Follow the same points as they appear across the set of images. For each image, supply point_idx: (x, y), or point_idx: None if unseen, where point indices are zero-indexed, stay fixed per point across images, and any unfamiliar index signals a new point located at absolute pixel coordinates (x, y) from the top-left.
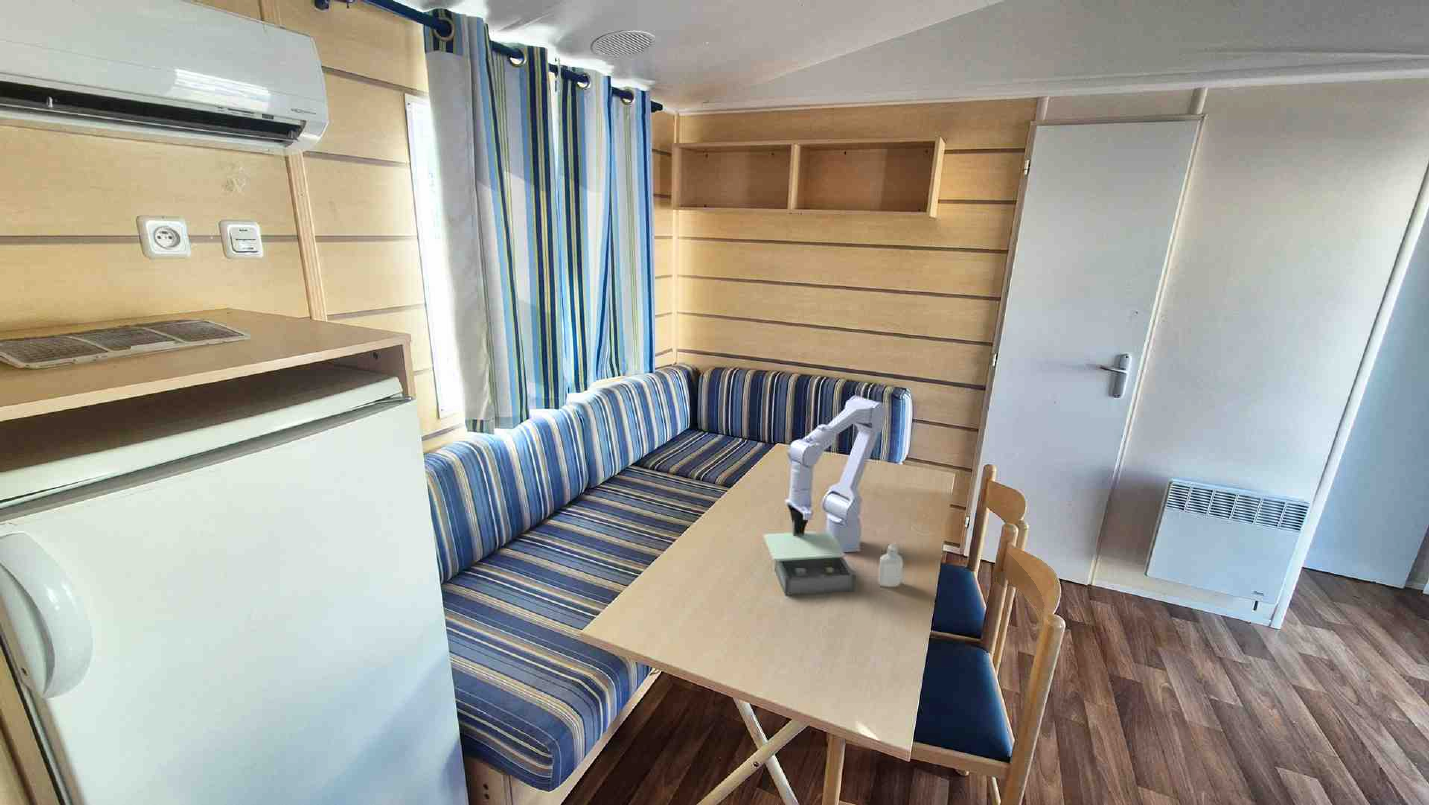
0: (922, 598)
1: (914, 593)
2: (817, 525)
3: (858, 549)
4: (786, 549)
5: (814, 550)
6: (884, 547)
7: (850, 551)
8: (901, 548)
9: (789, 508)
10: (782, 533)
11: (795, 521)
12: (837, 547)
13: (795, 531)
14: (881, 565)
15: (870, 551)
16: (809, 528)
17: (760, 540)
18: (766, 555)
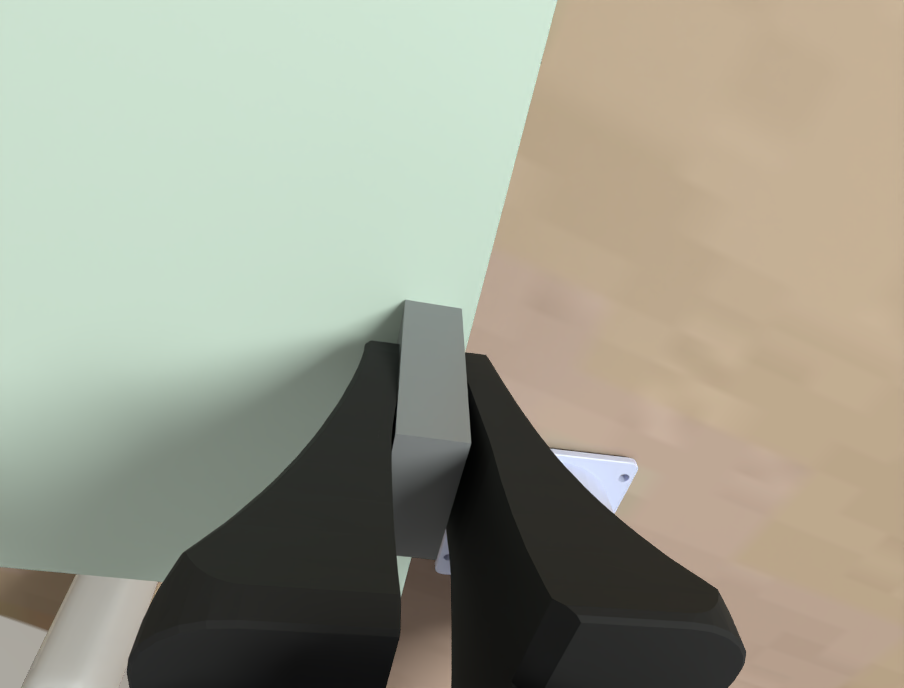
0: (3, 615)
1: (44, 606)
2: (774, 496)
3: (442, 568)
4: (55, 58)
5: (52, 383)
6: (436, 644)
7: (444, 533)
8: (407, 682)
9: (550, 600)
10: (499, 194)
11: (284, 472)
12: (117, 561)
13: (366, 355)
14: (53, 642)
15: (424, 595)
16: (776, 450)
17: (879, 63)
18: (640, 6)
